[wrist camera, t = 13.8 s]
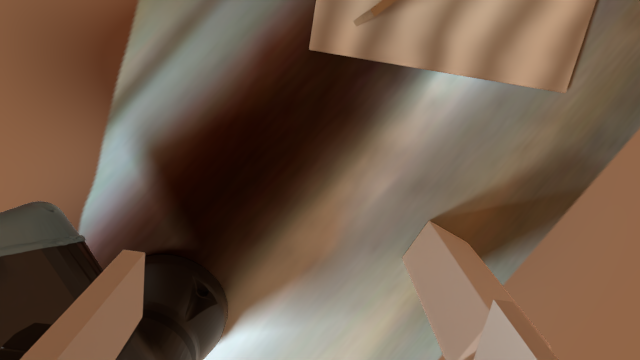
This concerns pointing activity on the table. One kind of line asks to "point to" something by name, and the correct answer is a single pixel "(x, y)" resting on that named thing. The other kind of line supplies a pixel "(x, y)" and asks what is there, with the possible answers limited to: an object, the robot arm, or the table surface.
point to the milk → (453, 290)
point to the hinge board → (462, 37)
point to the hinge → (373, 11)
